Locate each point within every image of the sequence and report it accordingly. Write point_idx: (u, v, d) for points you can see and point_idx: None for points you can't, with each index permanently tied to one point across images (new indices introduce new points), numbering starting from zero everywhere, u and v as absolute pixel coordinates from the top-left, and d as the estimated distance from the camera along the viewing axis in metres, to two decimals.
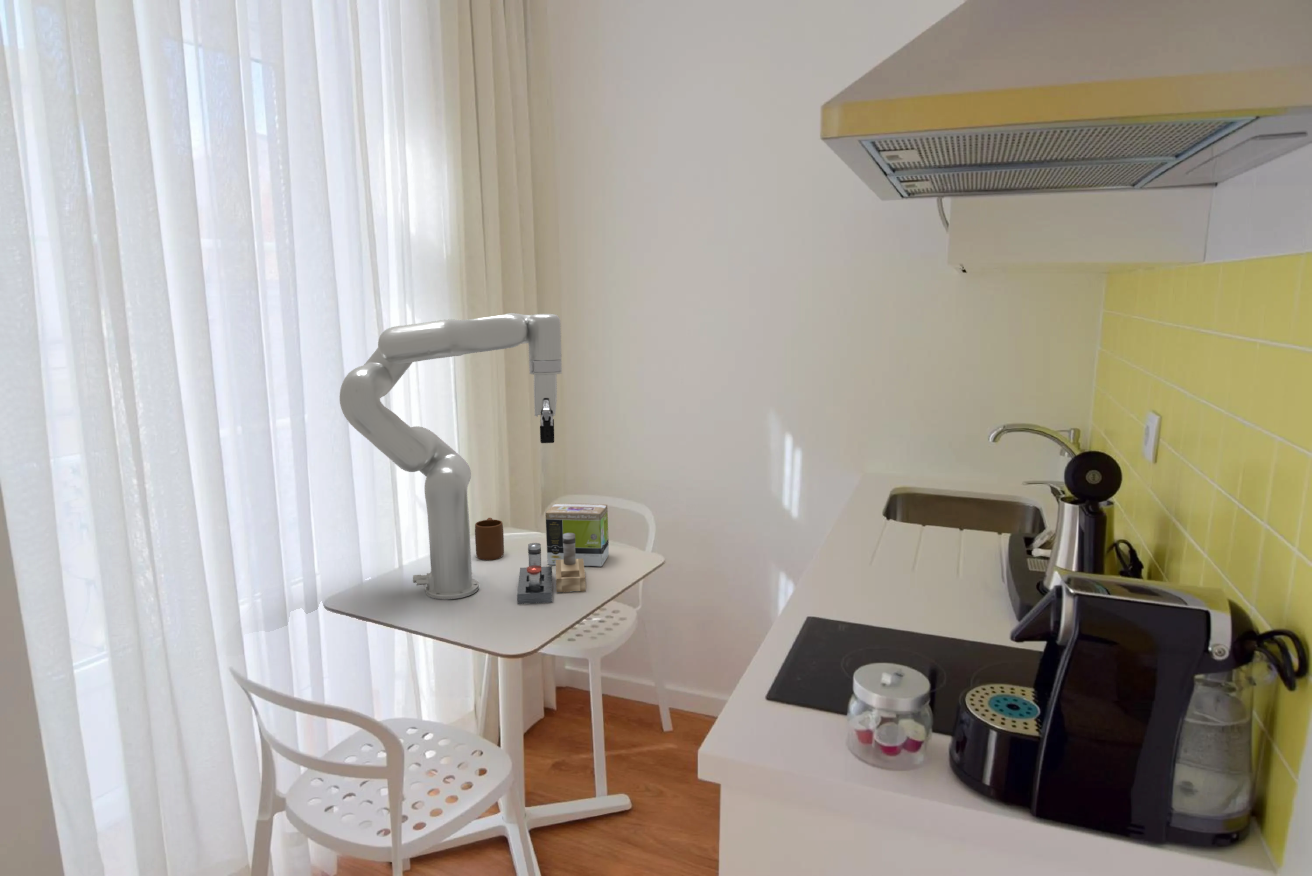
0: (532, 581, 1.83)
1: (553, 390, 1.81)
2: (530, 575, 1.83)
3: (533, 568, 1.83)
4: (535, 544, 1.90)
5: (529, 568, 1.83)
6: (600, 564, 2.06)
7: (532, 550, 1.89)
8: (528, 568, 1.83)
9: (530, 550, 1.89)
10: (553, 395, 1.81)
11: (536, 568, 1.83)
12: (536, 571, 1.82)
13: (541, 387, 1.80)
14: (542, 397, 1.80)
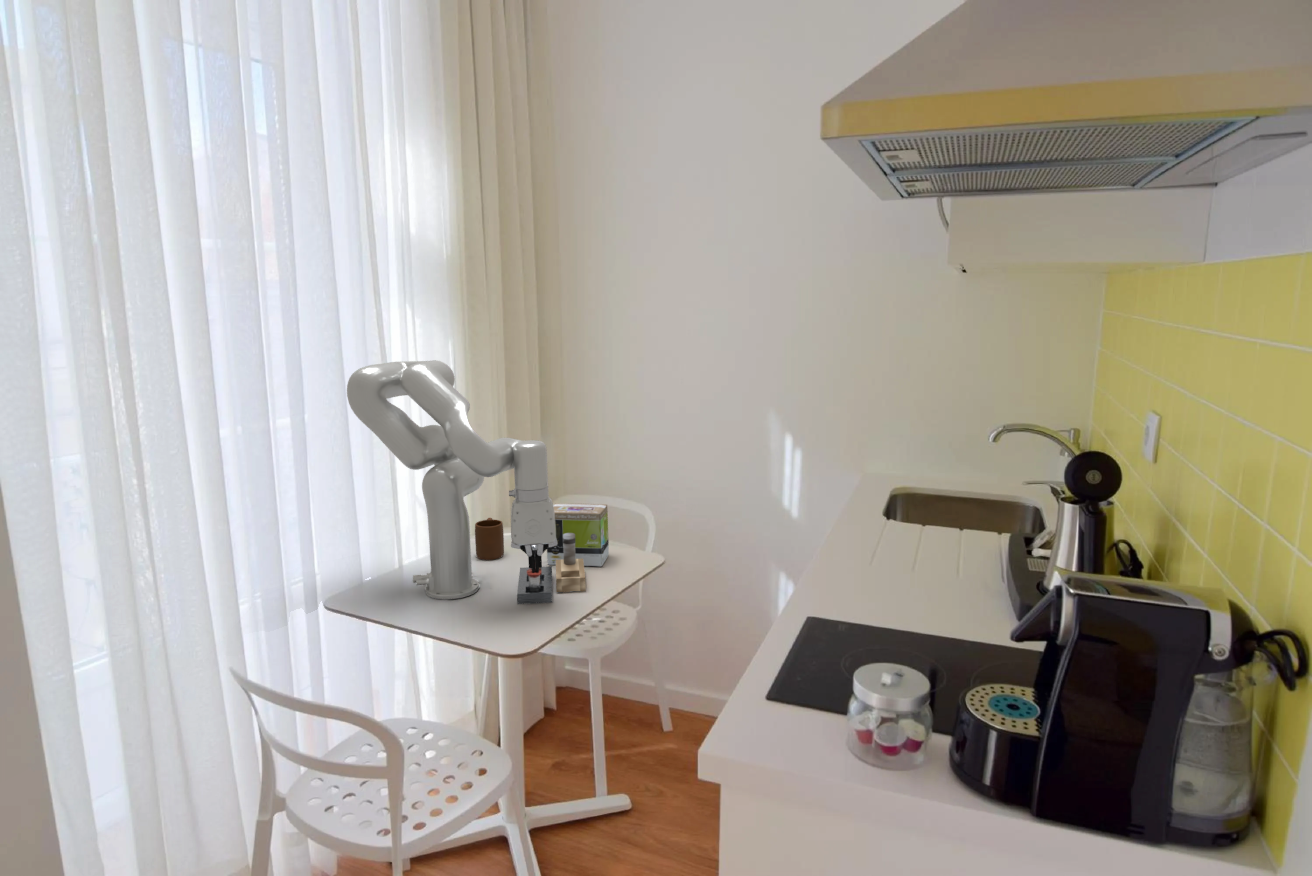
0: (532, 584, 1.83)
1: None
2: (530, 578, 1.83)
3: None
4: None
5: (529, 571, 1.83)
6: (600, 564, 2.06)
7: None
8: (528, 571, 1.83)
9: None
10: None
11: None
12: (536, 574, 1.82)
13: None
14: None
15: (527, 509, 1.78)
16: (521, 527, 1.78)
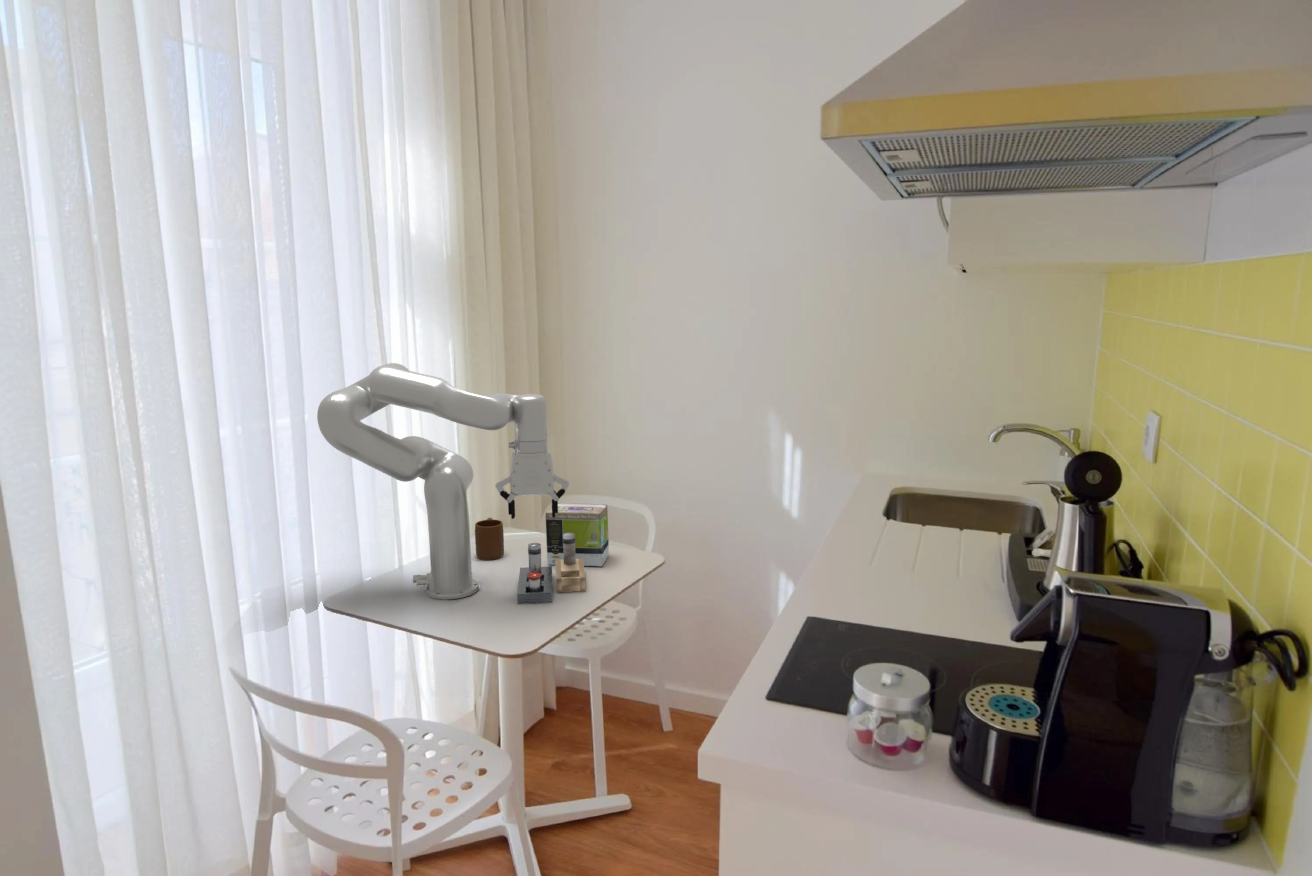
0: (532, 587, 1.83)
1: None
2: (530, 581, 1.83)
3: (533, 574, 1.83)
4: (535, 544, 1.90)
5: (529, 574, 1.83)
6: (600, 564, 2.06)
7: (532, 550, 1.89)
8: (528, 574, 1.83)
9: (530, 550, 1.89)
10: None
11: (536, 574, 1.83)
12: (536, 577, 1.82)
13: (552, 464, 1.86)
14: (553, 473, 1.87)
15: (526, 460, 1.83)
16: (520, 478, 1.84)
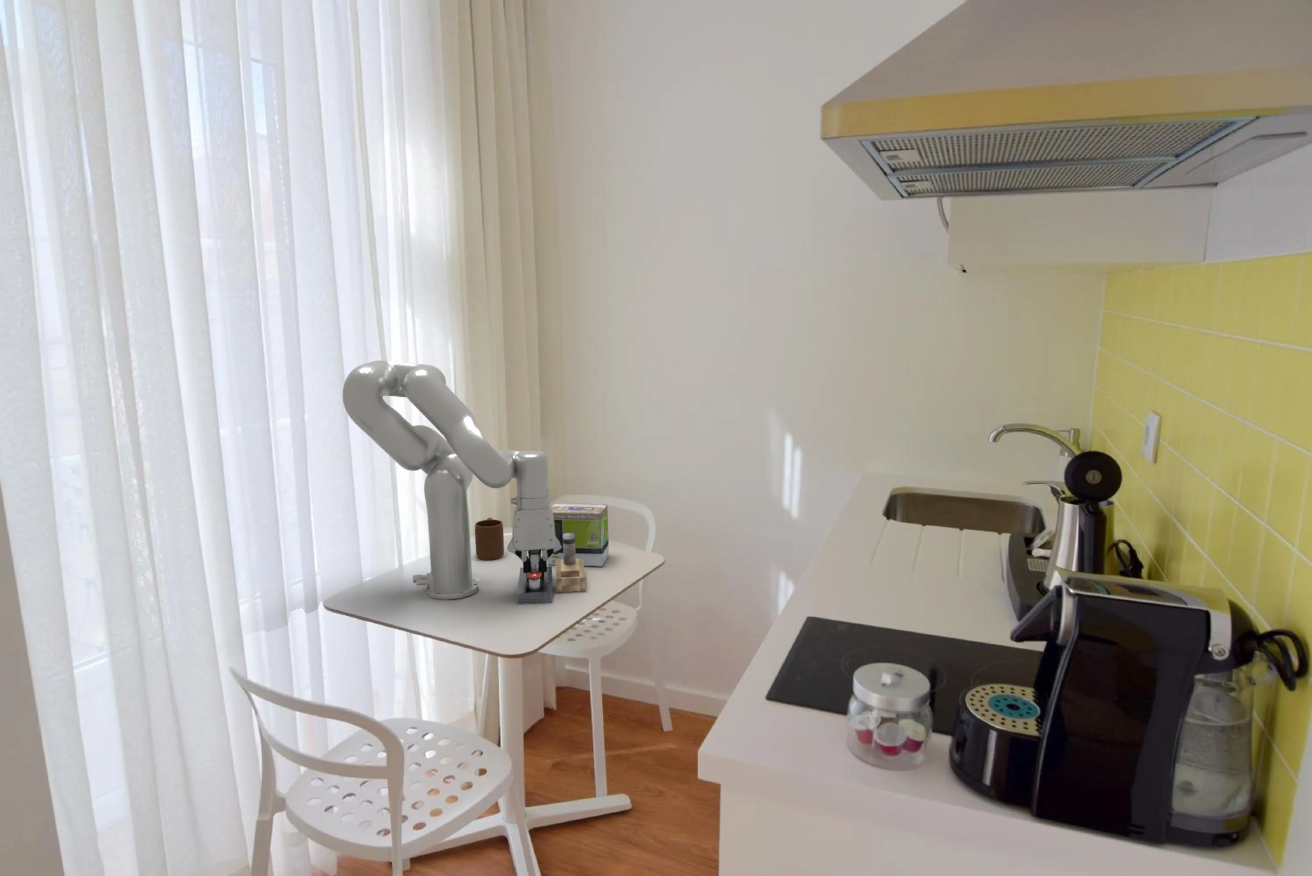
0: (532, 587, 1.83)
1: None
2: (530, 581, 1.83)
3: (533, 574, 1.83)
4: None
5: (529, 574, 1.83)
6: (600, 564, 2.06)
7: (532, 550, 1.89)
8: (528, 574, 1.83)
9: (530, 550, 1.89)
10: None
11: (536, 574, 1.83)
12: (536, 577, 1.82)
13: (553, 519, 1.89)
14: (554, 528, 1.89)
15: (528, 516, 1.86)
16: (522, 533, 1.87)
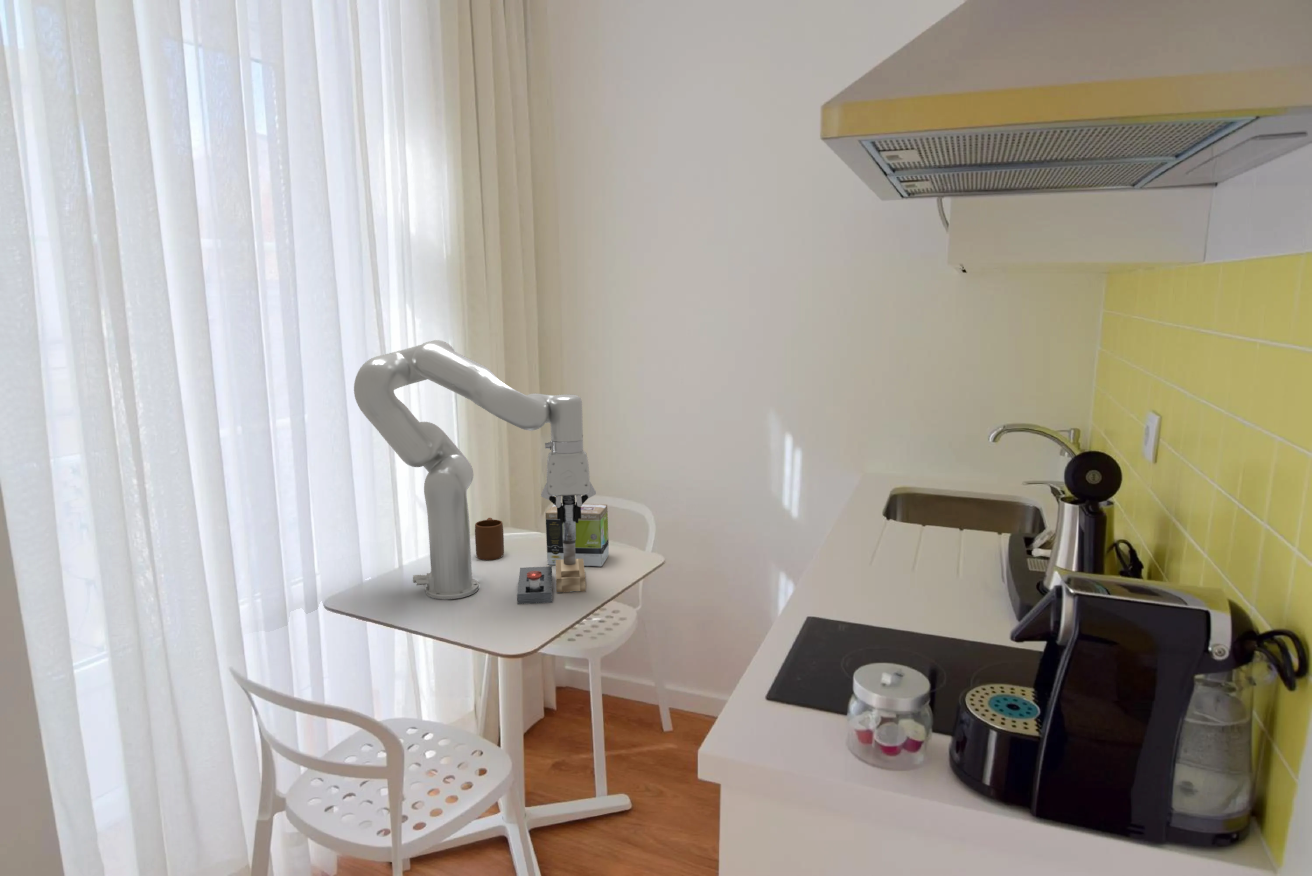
0: (532, 587, 1.83)
1: None
2: (530, 581, 1.83)
3: (533, 574, 1.83)
4: None
5: (529, 574, 1.83)
6: (600, 564, 2.06)
7: (567, 500, 1.87)
8: (528, 574, 1.83)
9: (565, 501, 1.87)
10: None
11: (536, 574, 1.83)
12: (536, 577, 1.82)
13: (588, 464, 1.86)
14: None
15: (563, 461, 1.84)
16: (557, 478, 1.84)
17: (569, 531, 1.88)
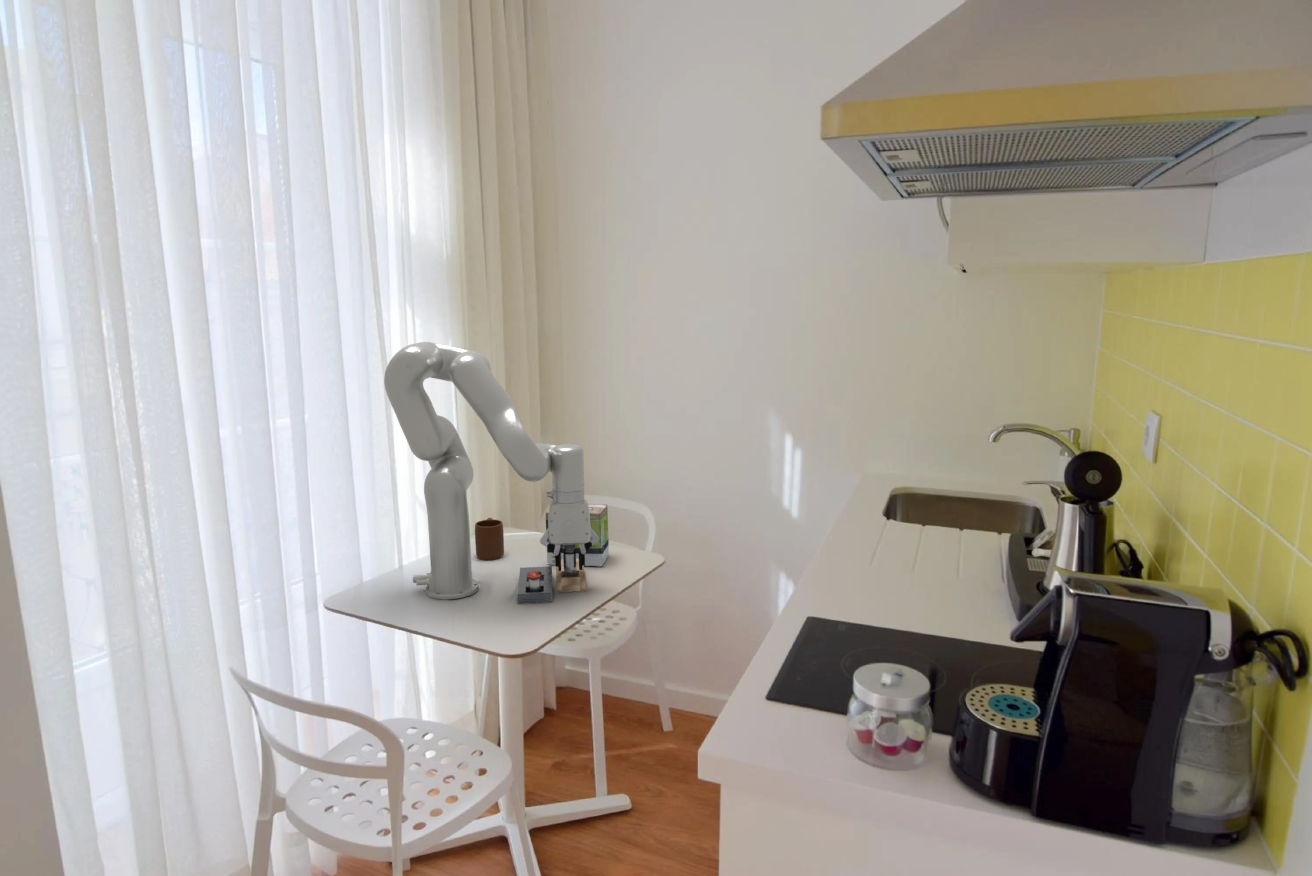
0: (532, 587, 1.83)
1: None
2: (530, 581, 1.83)
3: (533, 574, 1.83)
4: (570, 544, 1.91)
5: (529, 574, 1.83)
6: (600, 564, 2.06)
7: (568, 550, 1.89)
8: (528, 574, 1.83)
9: (566, 550, 1.89)
10: None
11: (536, 574, 1.83)
12: (536, 577, 1.82)
13: (589, 513, 1.89)
14: None
15: (564, 510, 1.86)
16: (558, 527, 1.86)
17: None
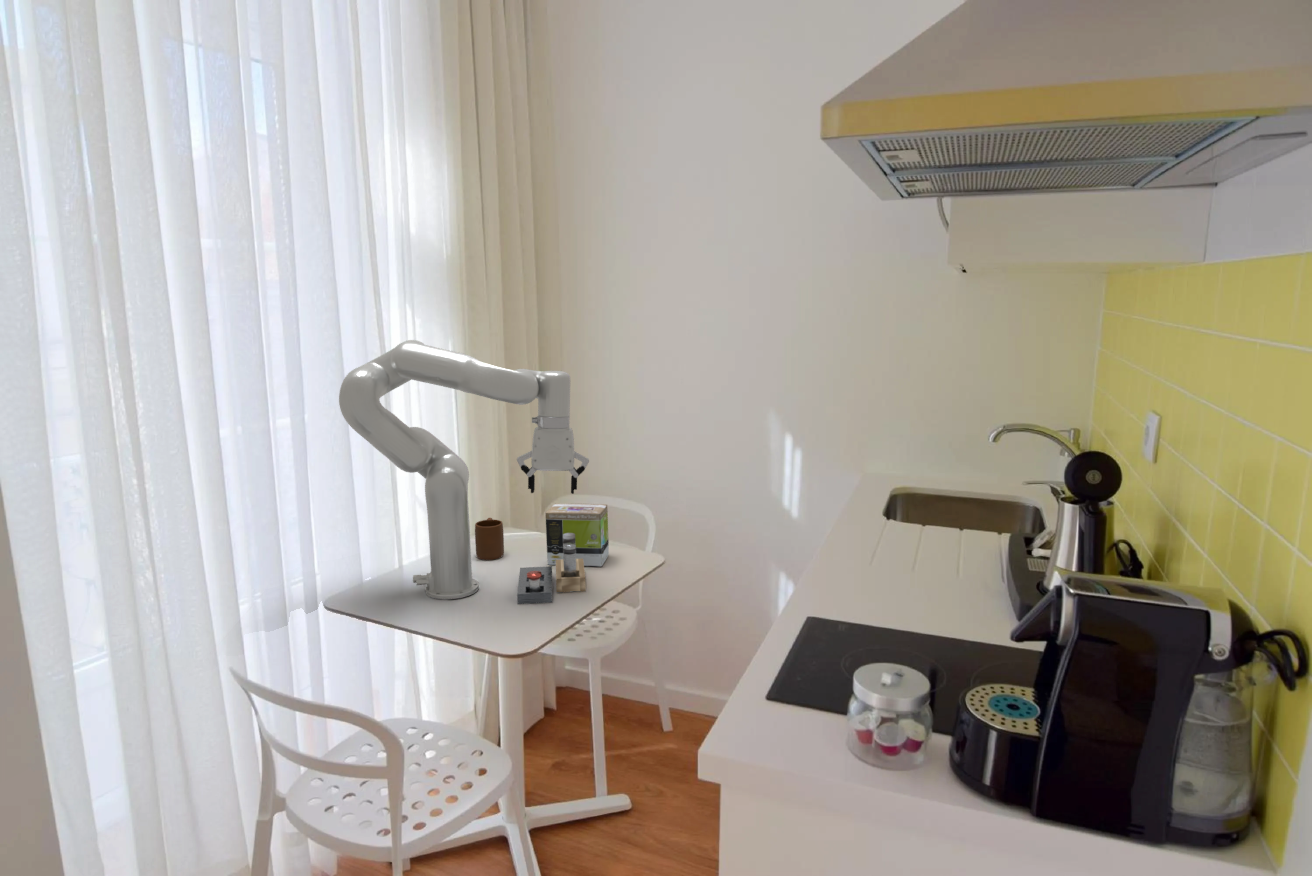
0: (532, 587, 1.83)
1: None
2: (530, 581, 1.83)
3: (533, 574, 1.83)
4: (570, 544, 1.91)
5: (529, 574, 1.83)
6: (600, 564, 2.06)
7: (568, 550, 1.89)
8: (528, 574, 1.83)
9: (565, 550, 1.89)
10: None
11: (536, 574, 1.83)
12: (536, 577, 1.82)
13: (573, 441, 1.88)
14: None
15: (548, 436, 1.86)
16: (541, 453, 1.86)
17: None
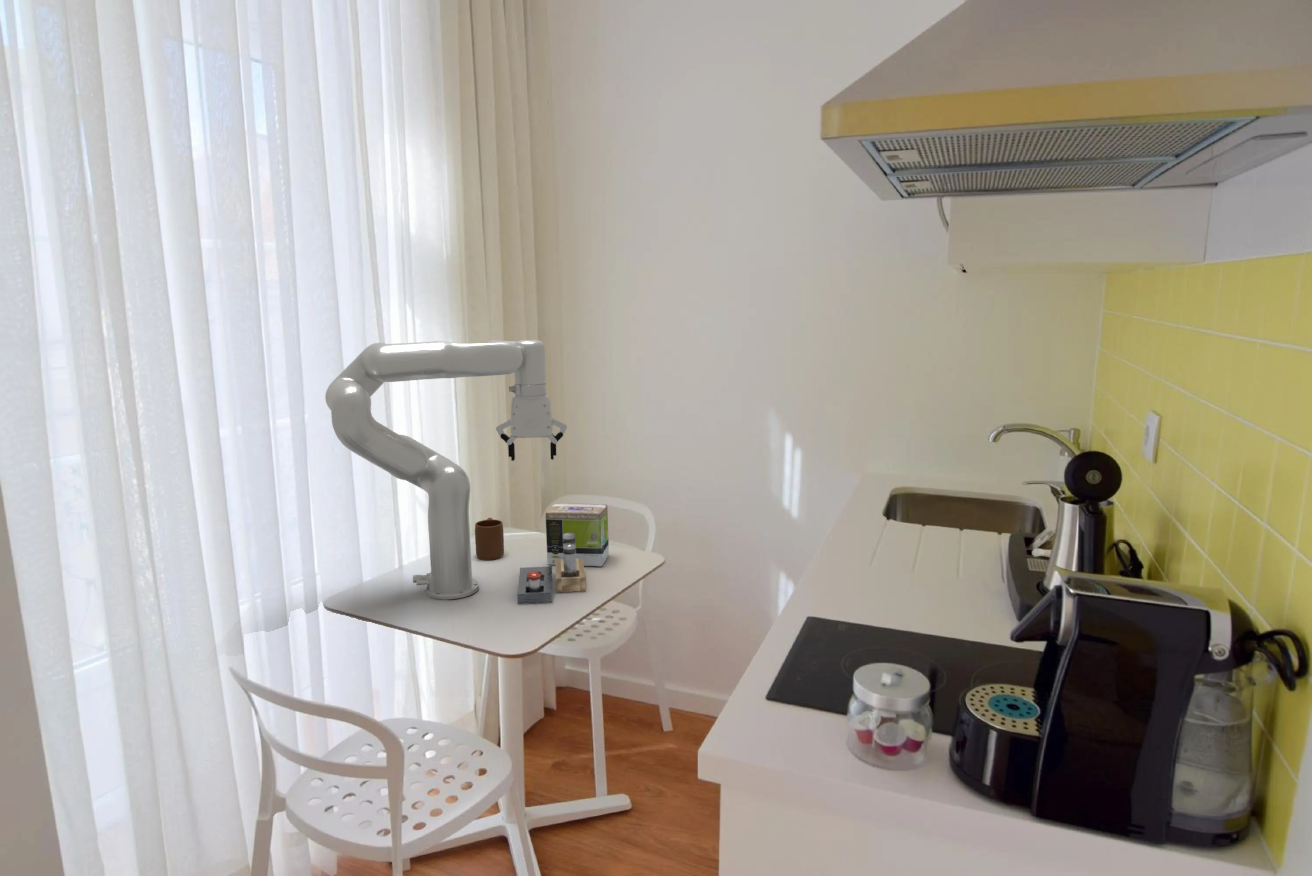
0: (532, 587, 1.83)
1: None
2: (530, 581, 1.83)
3: (533, 574, 1.83)
4: (570, 544, 1.91)
5: (529, 574, 1.83)
6: (600, 564, 2.06)
7: (568, 550, 1.89)
8: (528, 574, 1.83)
9: (565, 550, 1.89)
10: None
11: (536, 574, 1.83)
12: (536, 577, 1.82)
13: None
14: None
15: (526, 403, 1.90)
16: (520, 420, 1.91)
17: None
